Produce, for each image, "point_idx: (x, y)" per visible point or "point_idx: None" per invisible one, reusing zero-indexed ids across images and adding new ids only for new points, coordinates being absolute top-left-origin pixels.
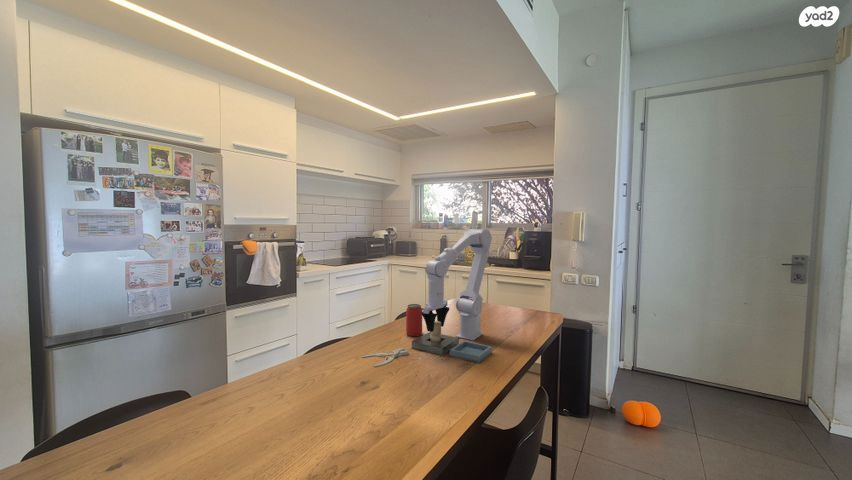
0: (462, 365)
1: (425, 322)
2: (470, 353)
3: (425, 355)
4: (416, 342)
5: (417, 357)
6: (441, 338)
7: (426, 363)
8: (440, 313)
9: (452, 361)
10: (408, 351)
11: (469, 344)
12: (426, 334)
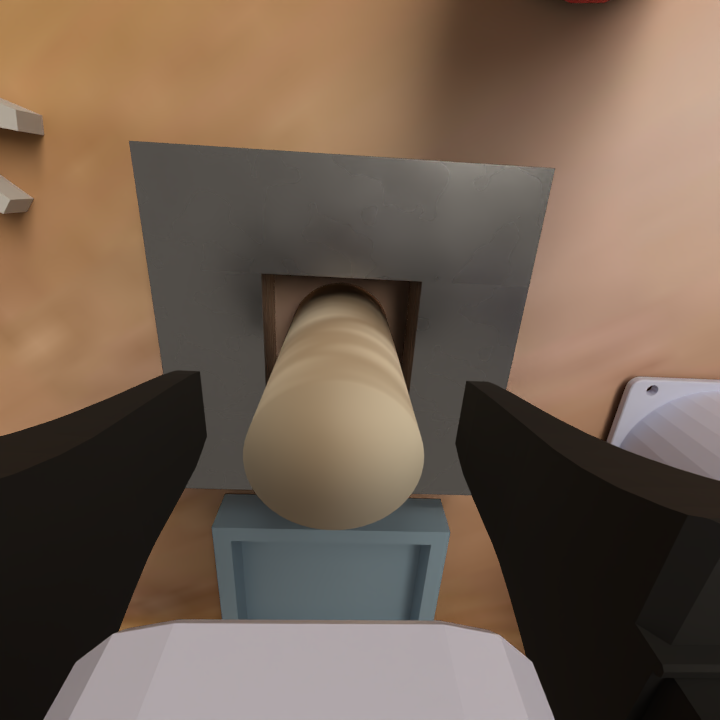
0: (151, 590)
1: (63, 419)
2: (313, 585)
3: (114, 354)
4: (140, 218)
5: (34, 321)
6: (411, 374)
7: (6, 427)
8: (550, 558)
9: (161, 534)
10: (4, 213)
11: (423, 561)
12: (444, 178)
